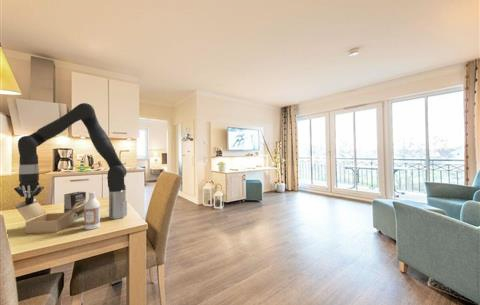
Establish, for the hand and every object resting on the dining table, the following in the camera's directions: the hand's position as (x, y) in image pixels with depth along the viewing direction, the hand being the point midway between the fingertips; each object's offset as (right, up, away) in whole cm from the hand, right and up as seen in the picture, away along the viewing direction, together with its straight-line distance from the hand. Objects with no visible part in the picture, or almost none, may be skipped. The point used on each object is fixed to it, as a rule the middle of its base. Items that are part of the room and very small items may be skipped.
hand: (29, 204), depth 109 cm
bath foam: (+33, -14, +3) cm, 36 cm away
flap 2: (+17, -7, +3) cm, 19 cm away
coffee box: (+11, -14, +17) cm, 25 cm away
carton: (+10, -14, +2) cm, 17 cm away
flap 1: (+3, -7, +1) cm, 8 cm away
